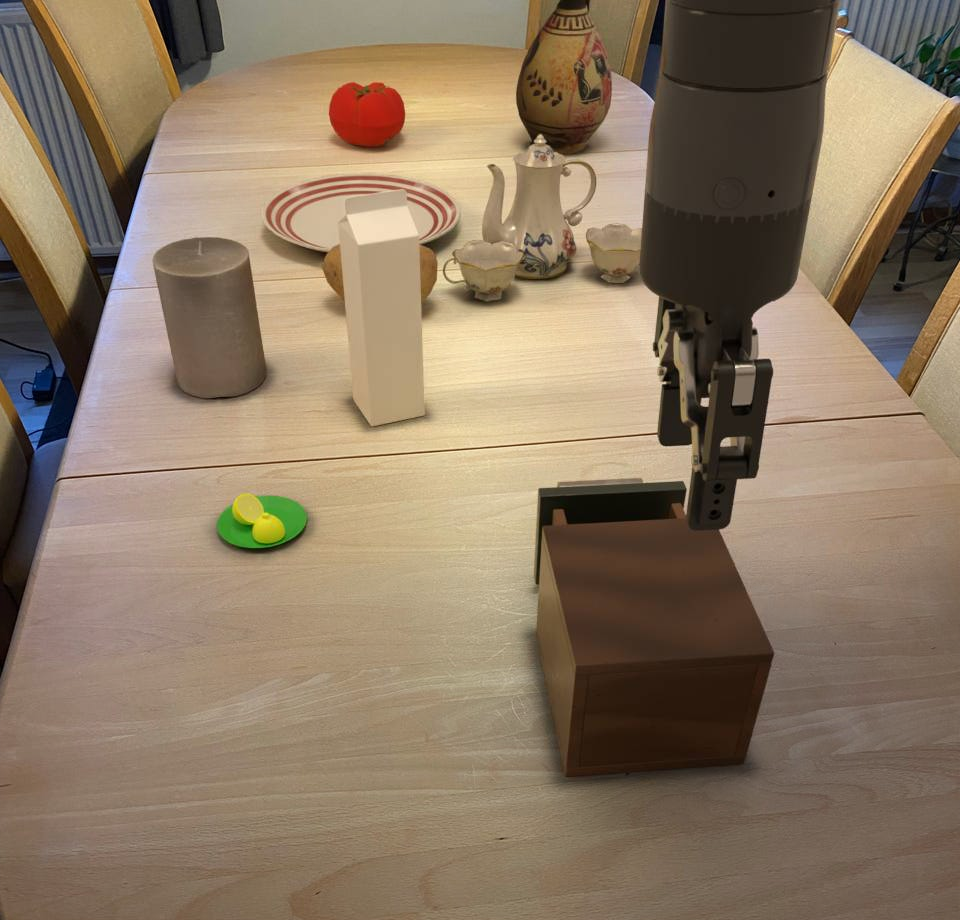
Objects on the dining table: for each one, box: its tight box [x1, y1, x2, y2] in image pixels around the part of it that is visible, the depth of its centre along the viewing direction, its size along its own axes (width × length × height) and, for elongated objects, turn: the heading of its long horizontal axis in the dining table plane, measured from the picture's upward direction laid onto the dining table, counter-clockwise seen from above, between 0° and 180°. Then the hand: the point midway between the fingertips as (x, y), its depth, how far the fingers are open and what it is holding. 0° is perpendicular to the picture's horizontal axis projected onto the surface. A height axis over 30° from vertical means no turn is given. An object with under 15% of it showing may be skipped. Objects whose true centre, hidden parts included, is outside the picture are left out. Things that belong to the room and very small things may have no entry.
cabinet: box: [535, 518, 775, 777], centre depth 74 cm, size 15×13×11 cm
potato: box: [322, 244, 439, 304], centre depth 123 cm, size 10×14×8 cm
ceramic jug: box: [515, 0, 613, 155], centre depth 162 cm, size 17×15×30 cm
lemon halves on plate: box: [216, 492, 308, 549], centre depth 92 cm, size 8×8×3 cm
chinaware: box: [442, 134, 642, 302], centre depth 128 cm, size 28×17×17 cm, turn 114°
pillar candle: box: [152, 236, 268, 399], centre depth 108 cm, size 10×10×15 cm
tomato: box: [328, 81, 406, 148], centre depth 170 cm, size 14×13×9 cm
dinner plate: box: [260, 172, 462, 253], centre depth 143 cm, size 27×27×3 cm
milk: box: [338, 189, 426, 427], centre depth 101 cm, size 6×6×22 cm
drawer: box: [533, 477, 688, 586], centre depth 80 cm, size 18×12×9 cm, turn 6°
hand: (690, 482), depth 58 cm, fingers open, 8 cm apart
